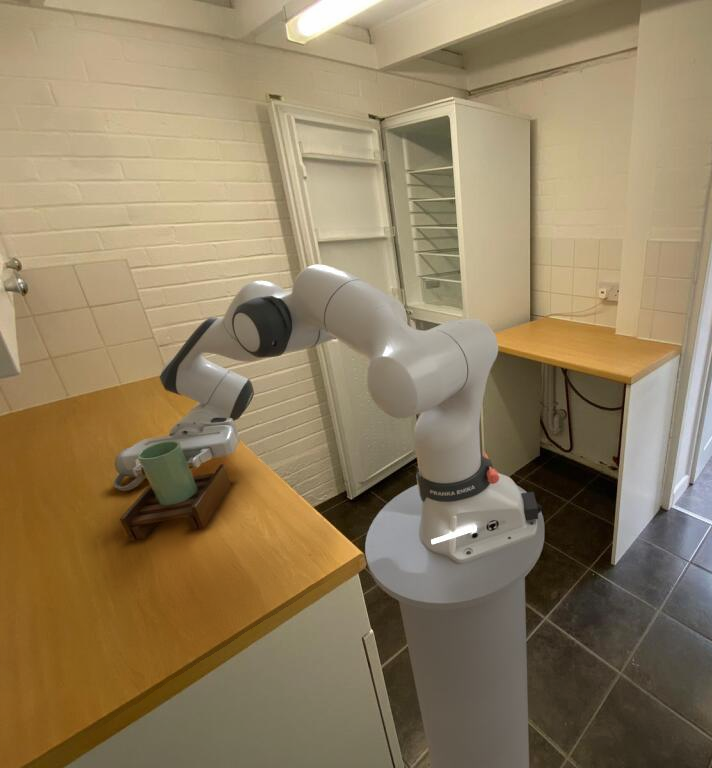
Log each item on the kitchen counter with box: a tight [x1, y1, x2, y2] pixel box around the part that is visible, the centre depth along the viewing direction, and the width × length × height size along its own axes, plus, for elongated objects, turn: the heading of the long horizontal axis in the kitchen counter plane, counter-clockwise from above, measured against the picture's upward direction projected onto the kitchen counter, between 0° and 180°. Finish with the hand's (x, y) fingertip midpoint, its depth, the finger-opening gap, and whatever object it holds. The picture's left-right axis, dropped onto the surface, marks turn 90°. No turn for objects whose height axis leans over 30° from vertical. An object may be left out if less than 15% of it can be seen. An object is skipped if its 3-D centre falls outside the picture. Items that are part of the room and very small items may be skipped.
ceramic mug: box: [113, 447, 147, 492], centre depth 98 cm, size 11×8×8 cm
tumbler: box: [138, 441, 198, 505], centre depth 84 cm, size 7×7×11 cm
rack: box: [119, 463, 232, 542], centre depth 87 cm, size 13×15×6 cm
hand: (165, 469), depth 83 cm, fingers open, 8 cm apart
